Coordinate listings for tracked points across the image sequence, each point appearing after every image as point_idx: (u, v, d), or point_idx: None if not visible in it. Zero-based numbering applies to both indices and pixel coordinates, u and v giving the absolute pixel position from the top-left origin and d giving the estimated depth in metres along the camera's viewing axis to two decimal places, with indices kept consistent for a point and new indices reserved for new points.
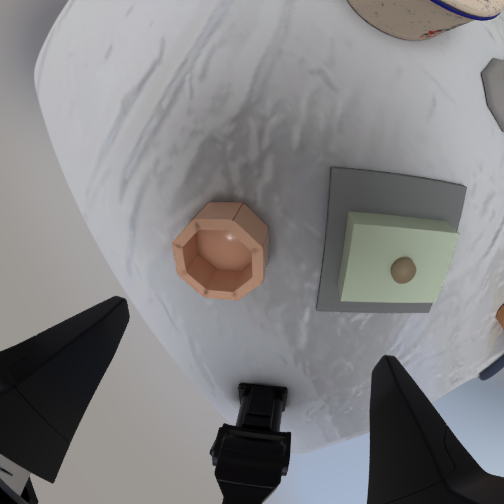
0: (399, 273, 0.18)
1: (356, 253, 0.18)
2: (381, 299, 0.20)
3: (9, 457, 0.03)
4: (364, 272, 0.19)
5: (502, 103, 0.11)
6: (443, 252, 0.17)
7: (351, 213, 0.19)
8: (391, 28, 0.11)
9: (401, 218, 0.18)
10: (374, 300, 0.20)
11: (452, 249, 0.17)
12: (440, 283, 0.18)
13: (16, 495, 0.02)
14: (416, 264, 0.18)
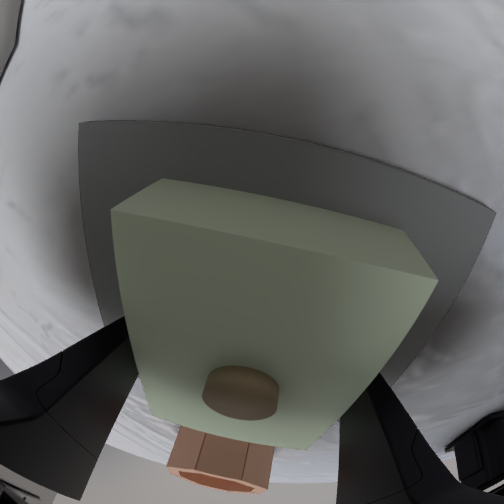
0: (240, 411, 0.07)
1: (203, 427, 0.09)
2: (331, 416, 0.07)
3: (38, 481, 0.03)
4: (246, 429, 0.08)
5: None
6: (186, 274, 0.05)
7: None
8: None
9: None
10: (328, 424, 0.07)
11: (171, 233, 0.05)
12: (344, 274, 0.05)
13: None
14: (232, 360, 0.06)
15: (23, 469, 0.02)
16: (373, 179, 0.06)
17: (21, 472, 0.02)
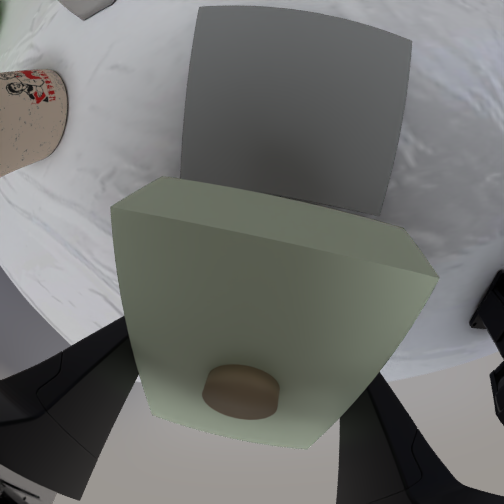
0: (240, 410, 0.06)
1: (203, 427, 0.09)
2: (332, 415, 0.07)
3: (38, 481, 0.03)
4: (246, 428, 0.08)
5: None
6: (186, 272, 0.05)
7: None
8: (55, 125, 0.15)
9: None
10: (328, 423, 0.07)
11: (171, 231, 0.05)
12: (345, 271, 0.05)
13: None
14: (232, 358, 0.06)
15: (23, 469, 0.02)
16: (341, 23, 0.11)
17: (21, 472, 0.02)
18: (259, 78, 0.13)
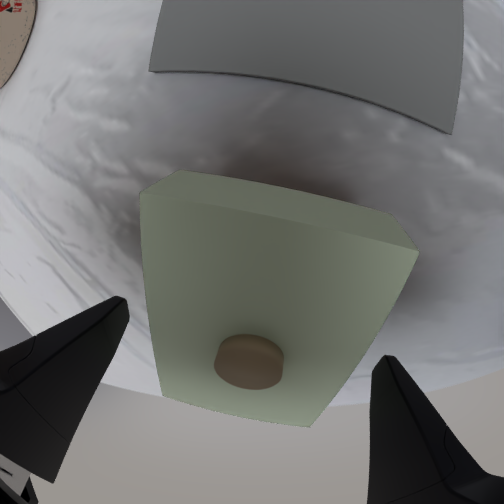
0: (248, 380, 0.07)
1: (212, 405, 0.10)
2: (332, 387, 0.08)
3: (9, 457, 0.03)
4: (252, 404, 0.09)
5: None
6: (205, 247, 0.06)
7: None
8: (14, 39, 0.07)
9: None
10: (329, 397, 0.08)
11: (193, 212, 0.06)
12: (337, 244, 0.06)
13: (16, 495, 0.02)
14: (242, 328, 0.07)
15: None
16: None
17: None
18: None
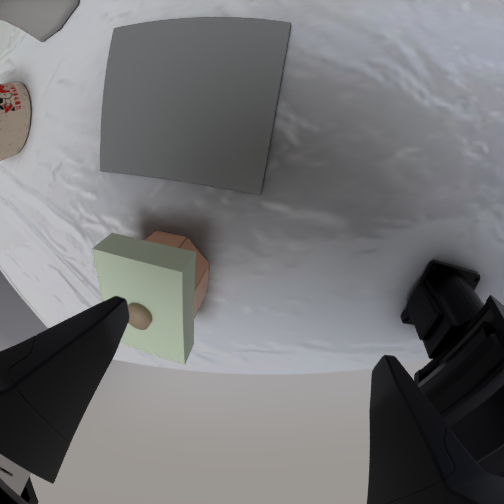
0: (138, 323, 0.17)
1: (134, 344, 0.20)
2: (179, 335, 0.18)
3: (9, 457, 0.03)
4: (150, 343, 0.19)
5: (46, 24, 0.11)
6: (114, 268, 0.16)
7: None
8: (20, 128, 0.17)
9: None
10: (181, 341, 0.18)
11: (108, 256, 0.16)
12: (151, 268, 0.15)
13: (16, 495, 0.02)
14: (132, 299, 0.17)
15: None
16: (219, 22, 0.12)
17: None
18: (150, 82, 0.15)
